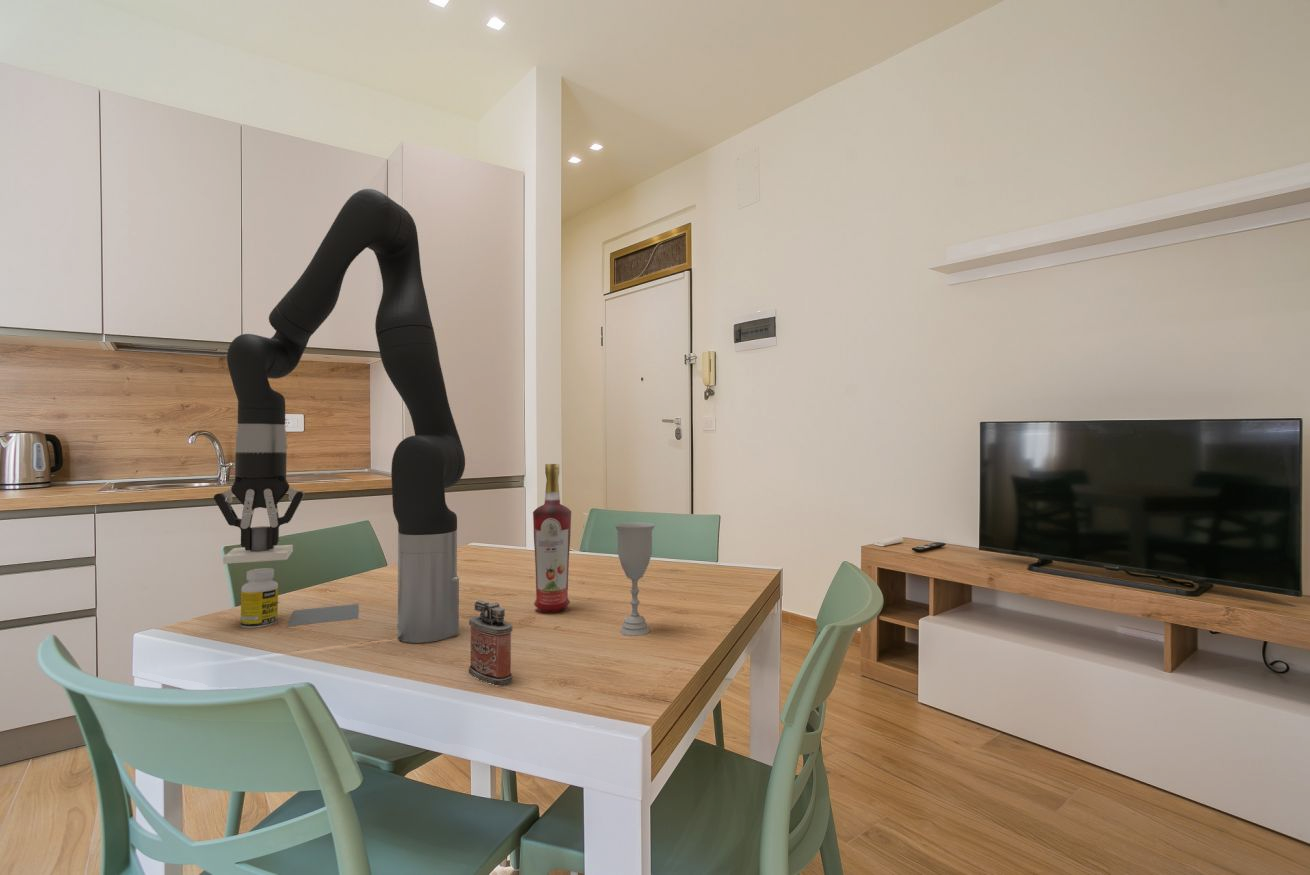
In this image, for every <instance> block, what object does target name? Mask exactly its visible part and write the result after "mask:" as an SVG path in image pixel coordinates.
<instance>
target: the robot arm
mask: <svg viewBox="0 0 1310 875" xmlns="http://www.w3.org/2000/svg"><path fill="white" fill-rule="evenodd" d="M418 237H419V236H418V229H417V224H416V222H415V220H414V218H413V216H412V215H411V214H410V212H409V211H408V210H406V208H404V207H403V206H402V205H400V204H399V203H397V202H396V201H394V200H393V199H392V198H390V197H389V196H388V195H386V194H384V193H383V192H381V191H380V190H377V189H373V188H363V189H360V190H358V191H356V192H355V193H353V194H352V195H351V196H350V197H349V198H348V199H347V200H346V202H345V203H344V205H343V206H342V207H341V209H340V211H339V212H338V214H337V215H336V217H335V219H334V221H333V222H332V223H331V226H330V228H329V229H328V231H327V233H326V235H325V236H324V237H323V240H322V241H321V243H320V245H319V246H318V248H317V250H316V251H315V253H314V255H313V257H312V258H311V259H310V262H309V264H307V267H306V268H305V269H304V271H303V273H302V274H301V275H300V276H299V278H298V280H296V282H295V283H294V284H293V286H292V287H291V288H290V289H289V290H288V291H287V292H286V294H284V296H283V297H282V298H281V300H280V301H278V303H277V304H276V305H275V307H274V308H272V310H271V311H270V313H269V315H268V321H269V324H270V325H271V327H272V328H273V329H274V331H275V333H274V334H273V335H272V337H271V338H270V337H266V336H261V335H258V334H252V333H243V334H240V335H238V336H236V337H234V339H233V340H232V341H231V342H230V344H229V347H228V349H227V352H226V361H227V369H228V372H229V375H230V379H231V383H232V387H233V390H234V392H235V396H236V399H237V425H236V426H237V427H236V428H237V429H236V433H235V444H234V447H235V452H234V453H235V455H234V456H235V457H234V458H235V459H234V465H235V466H234V482H233V484H232V485H231V488H230V489H228V490H226V491H223V492H219V493H216V494H214V496H213V500H214V501H215V503H216V505H217V507H218V508H219V510H220V511H221V513H222V516H223V517H224V519H225V521H226V522H227V525H228V526H231V527H237V528H239V529H240V546H241V548H245V551H246V550H251V528H252V526H251V525H252V523H253V522H252V521H253V517H254V516H253V515H254V512H255V509H259V508H260V509H261V508H262V509H266V513H267V515H268V522H269V527H270V528H268V549H273V548H274V546H278V544H279V542H280V540H279V538H280V526H282V525H285V524H288V523H290V521H291V520H292V519H293V517H294V515H295V513H296V511H297V510H298V507H299V505H300V504H301V502H302V501H303V499H304V498H305V497H304V496H305V492H304V491H303V490H298V489H294V488H292V487H290V484H289V482H288V481H287V450H288V444H287V443H288V441H287V439H288V438H287V431H286V399H285V397H284V395H283V394H282V393H280V392H278V391H276V390H274V389H273V388H272V387H271V385H270V381H269V379H274V380H275V379H280V378H284V377H287V376H288V375H289V374H290V373H292V372H293V371H294V370H295V369H296V367H297V366H298V364H299V363H300V361H301V359H302V356H303V354H304V352H305V350H306V348H307V345H308V342H309V340H310V339H311V337H312V336H313V335H314V334H315V332H317V330H318V329H319V327H320V326H321V325H322V324H323V323H324V322H325V321H326V320H327V318H328V317H329V316H330V315H331V314H332V312H333V311H334V309H335V307H336V305H337V303H338V300H339V297H340V292H341V288H342V284H343V281H344V278H345V275H346V273H347V271H348V269H349V267H350V265H351V264H352V263H353V261H355V259H356V258H357V257H358V256H359V255H360V254H361V253H362V252H363V251H364V250H365V249H366V248H368V249H370V250H371V251H373V253H374V254H375V258H376V260H377V263H378V266H379V272H380V275H381V280H382V281H381V282H382V294H381V297H380V298H381V299H380V302H379V305H378V308H377V312H376V317H375V324H374V325H375V327H374V329H375V335H376V340H377V346H378V349H379V356H380V360H381V363H382V365H383V366H382V367H383V368H384V370H385V372H386V375H387V376H388V378H389V380H390V381H391V384H392V385H393V387H394V388H395V390H396V391H397V393H398V395H399V396H400V397H401V399H402V401H403V402H404V404H405V405H406V407H407V408H406V409H407V410H408V413H409V415H410V419H411V422H412V426H413V431H414V435H411V436H407V437H405V438H404V439H402V440H401V441H400V442H399V443H398V444H397V446H396V447H395V450H394V453H393V455H392V460H391V468H390V470H391V472H390V474H391V477H390V478H391V495H392V498H391V500H392V511H393V515H394V517H395V519H396V522H397V538H398V539H397V626H396V628H397V639H398V640H399V641H401V642H405V643H415V644H416V643H417V644H419V643H429V642H431V643H432V642H437V641H440V640H441V641H442V640H445V639H449V638H452V637H455V636H459V634H460V631H459V630H460V624H459V623H460V577H459V576H458V573H457V572H458V516H457V514H456V513H455V512H454V511H452V510H451V509H450V508H449V507H448V505H447V503H446V502H447V501H446V493H445V491H446V490H445V489H447V488H451V487H454V485H456V484H458V482H460V480H461V478H462V477H463V476H464V475H463V474H464V473H465V467H466V456H465V455H466V454H465V451H464V447H463V444H462V441H461V438H460V435H459V432H458V429H457V426H456V423H455V420H454V417H453V414H452V410H451V407H450V403H449V398H448V394H447V389H446V384H445V381H444V379H445V378H444V375H443V371H442V367H441V362H440V355H439V349H438V345H437V344H438V343H437V341H436V340H437V339H436V335H435V329H434V325H433V323H432V319H431V313H430V310H429V303H428V299H427V295H426V290H425V287H424V281H423V277H422V276H423V275H422V266H421V256H420V246H419V245H420V244H419V238H418ZM286 494H288V500H289V501H290V504H289V506H288V508H287V509H286V511H285V513H284V515H283V516H280V515H279V508H278V504H279V503H280V501H281V500H282V499H283V498H284V497H285V495H286ZM233 495H234V496H235V498H236V499H237V500H238V501H239V502H240V503H241V504H242V505H243V508H242V514H241V518H239V517H238V516H237V514H236V511H235V510H234V508H233V506H232V505H231V503H232V502H233Z"/></svg>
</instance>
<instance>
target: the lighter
mask: <svg viewBox="0 0 1310 875" xmlns="http://www.w3.org/2000/svg"><path fill="white" fill-rule="evenodd" d="M473 610H474V611H476V612H479V613H480V614H479V615H475V616H471V617H469V620H468V621H469V622H468V625H470V664H469V665H468V673H470V674H471V675H470V674H469V675H470V676H472V677H473V676H474V677H476V678H478V679H479V680H482V681H484V682H487V683H491V684H494V685H504V686H507V685H506V684H508V685H510V684H511V683H512V682H513V673H511V671H512V670H511V667H512V666H511V665H512V663H511V661H512V660H511V659H512V658H511V656H512V651H511V650H512V645H511V644H512V640H511V639H512V638H511V637H512V635H511V634H512V632H513V624H512V623H510V622H509V621H507V620H505V615H506V614H505V612H506V611H505V608H503V607H500V604H499V603H498V602H492V603H489V602H487V601H484V600H480V599H478V600H476V601H475V602H474V608H473ZM474 677H473V678H474ZM476 678H475V679H476ZM478 679H477V680H478ZM479 680H478V681H479ZM482 681H481V682H482ZM484 682H483V683H484ZM487 683H486V684H487ZM509 683H510V684H509ZM491 684H490V685H491ZM494 685H493V686H494Z"/></svg>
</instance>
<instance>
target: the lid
mask: <svg viewBox="0 0 1310 875" xmlns="http://www.w3.org/2000/svg"><path fill="white" fill-rule="evenodd" d="M268 528H270V525H269V526H267V525H266V526H261V525H260V526H253V527H252V526H251V550H246V551H245V547H234V548H233V549H231V550H230V551H228V552H227V553H226V554H225V555H223V556H222V563H223V565H224V564H228V565H229V564H238V563H240V564H241V563H243V564H244V563H259V562H271V561H286V560H289V557H290V556H291V554H292V553H293V551H294V549H293V548H294V544H284V545H282V544H281V545H274V548H273V549H268Z"/></svg>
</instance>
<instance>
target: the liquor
mask: <svg viewBox="0 0 1310 875" xmlns="http://www.w3.org/2000/svg"><path fill="white" fill-rule="evenodd" d="M544 465H545V467H544V468H545V478H546V483H545V491H544V492H545V494H544V504H542V505H540V506H537V508H535V509H534V510H533V511H532V522H533V524H532V525H533V543H534V544H533V546H534V563H535V564H534V565H535V594H536V595H535V598H536V599H535V601H534V602H533V605H534V606H535V607H536V608H537V609H538V610H539V612H541V613H544V614H545V613H547V614H553V613H560V612H563V611H564V610H565V608H567V607H568V606H569V604H570V603H571V601H570V599H569V596H568V594H569V566H570V564H569V563H570V562H569V561H570V550H571V549H570V548H571V547H570V546H571V532H572V531H571V530H572V511H571V509H570V508H569V507H567V506H565V505H563V504H561V497H560V488H559V487H560V484H559V479H560V478H559V477H560V464H559V463H546V464H544Z"/></svg>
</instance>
